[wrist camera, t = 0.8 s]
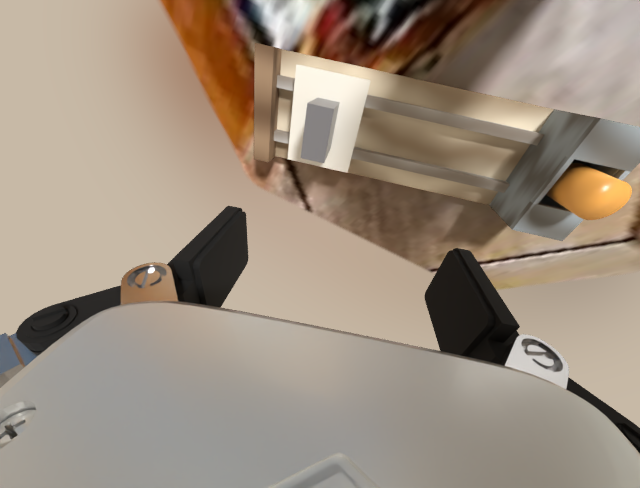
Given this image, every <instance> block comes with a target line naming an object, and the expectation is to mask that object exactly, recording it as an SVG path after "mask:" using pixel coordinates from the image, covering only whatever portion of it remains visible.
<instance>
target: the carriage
mask: <svg viewBox="0 0 640 488" xmlns="http://www.w3.org/2000/svg"><path fill="white" fill-rule="evenodd" d="M370 82H371V81H370V80H367V79H362V78H358V77H353V76H349V75H344V74H340V73H335V72H331V71H326V70H322V69H317V68H313V67H308V66H304V65H297V64H296V72H295V83H294V94H293V105H292V116H291V127H290V138H289V148H288V159H289V160H293V161H297V162H302V163H306V164H311V165H315V166H319V167H324V168H328V169H332V170H337V171H341V172H346V173H348V169H349V165H350V161H351V157H352V153H353V149H354V145H355V141H356V137H357V133H358V129H359V125H360V121H361V117H362V113H363V109H364V105H365V101H366V97H367V93H368V90H369V86H370Z"/></svg>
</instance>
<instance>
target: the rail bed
mask: <svg viewBox="0 0 640 488" xmlns="http://www.w3.org/2000/svg"><path fill="white" fill-rule="evenodd" d="M296 64H297V65H304V66H308V67H313V68H317V69H322V70H326V71H331V72H335V73H340V74H344V75H349V76H353V77H358V78H362V79H367V80H370V81H371V82H370V86H369V90H368V93H367V97H366V101H365V105H364V109H363V113H362V117H361V121H360V125H359V129H358V133H357V137H356V141H355V145H354V149H353V153H352V157H351V161H350V165H349V169H348V173H351V174H356V175H360V176H364V177H369V178H373V179H377V180H382V181H386V182H390V183H395V184H399V185H404V186H408V187H412V188H417V189H421V190H425V191H430V192H434V193H439V194H443V195H447V196H452V197H456V198H460V199H465V200H469V201H474V202H478V203H482V204H487V205H490V206H491V207H492V209H493V210H494V211H495V212H496V213H497V214H498V215H499V216H500V217H501V218H502V219H503V220H504V221H505V222H506V223H507V225H508V226H509V227H510V228H511V229H512V230H516V231H521V232H525V233H529V234H534V235H538V236H542V237H547V238H551V239H555V240H560V241H563V240H564V239H565V238H566V237H567V236H568V235H569V234H570V233H571V232H572V231H573V230H574V229H575V228H576V227H577V226H578V225H579V224H580V223H581V222H582V221H583V220H584V219H582V218H580V217H578V216H577V215H575V214H574V213H572V212H571V211H569V210H568V209H566V208H565V207H563V206H562V205H560V204H559V203H557V202H556V201H554V200H553V199H551V198H550V197H548V196H547V195H546V194H547V192H548V191H549V190H550V189H551V187H552V186H553V185H554V184H555V183H556V181H557V180H558V179H559V178H560V176H561V175H562V174H563V173H564V171H565V170H566V169H567V168H568V167H569V165H570V164H572V163H580V164H584V165H586V166H588V167H591V168H593V169H595V170H598V171H600V172H603V173H605V174H607V175H610V176H612V177H614V178H617V179H619V180H623V179H624V178H625V177H626V176H627V175H628V174H629V173H630V172H631V171H632V170H633V169H634V168H635V167H636V166H637V165H638V164H639V163H640V127H637V126H632V125H628V124H623V123H619V122H614V121H610V120H605V119H601V118H596V117H590V116H585V115H580V114H575V113H570V112H565V111H560V110H555V109H550V108H545V107H541V106H536V105H532V104H527V103H523V102H518V101H514V100H509V99H505V98H500V97H496V96H491V95H486V94H482V93H477V92H473V91H468V90H464V89H459V88H455V87H450V86H446V85H441V84H437V83H432V82H428V81H423V80H418V79H414V78H409V77H405V76H400V75H396V74H391V73H387V72H382V71H378V70H373V69H369V68H364V67H359V66H355V65H350V64H346V63H341V62H337V61H332V60H328V59H323V58H319V57H314V56H310V55H305V54H301V53H296V52H291V51H287V50H282V49H279V48H275V47H271V46H266V45H262V44H257V43H255V84H254V159H255V160H260V161H264V162H268V163H269V162H270V161H271V160H272V159H273V158H274V157H275V156H277V157H281V158H286V159H288V148H289V138H290V127H291V116H292V105H293V94H294V83H295V72H296Z"/></svg>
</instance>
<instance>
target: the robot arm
mask: <svg viewBox="0 0 640 488" xmlns="http://www.w3.org/2000/svg"><path fill="white" fill-rule="evenodd" d="M247 262H248V245H247V226H246V213H245V212H242V209H241V208H237V207H232V206H227V207H226V208H225V209H224V210H223V211H222V212H221V213H220V214H219V215H218V216H217V217H216V218H215V219H214V220H213V221H212V222H211V223H210V224H208V225H207V226H206V227H205V228H204V229H203V230H202V231H201V232H200V233H199V234H198V235H197V236H196V237H195V238H194V239H193V240H192V241H191V242H190V243H189V244H188V245H187V246H186V247H185V248H183V249H182V250H181V251H180V252H179V253H178V254H177V255H176V256H175V257H174V258H173V259H172V260H171V261H170V262H169V263H168V264H167V265H166V264H163V263H155V262H154V263H146V264H143V265H140V266H137V267H135V268H133V269H131V270H130V271H128V272H127V273H126V274H125V275H124V276H123V278H122V281H121V286H117V287H114V288H110V289H107V290H104V291H100V292H96V293H93V294H90V295H86V296H83V297H79V298H76V299H73V300H69V301H66V302H62V303H59V304H55V305H52V306H49V307H47V308H44V309H42V310H40V311H38V312H36V313H34V314H33V315H31V316H30V317H29V318H27V319H26V320H25V321H24V322H23V323H22V324H21V325H20V326H19V328H18V330H17V332H16V333H15V334H13V335H11V336H8V335H7V334H6V333H4V334H2V335H0V488H640V428H639V427H638V426H637V425H635V424H634V423H632V422H631V421H630V420H628V419H627V418H625V417H624V416H622V415H621V414H620V413H618V412H617V411H616V410H614V409H613V408H611V407H610V406H608V405H607V404H606V403H604V402H603V401H601V400H600V399H598V398H597V397H596V396H594V395H593V394H591V393H590V392H589V391H587V390H586V389H584V388H583V387H581V386H580V385H579V384H577V383H576V382H574V381H573V380H571V379H570V378H569V377H568V376H569V367H568V365H567V363H566V361H565V359H564V358H563V357H562V356H561V354H560V353H559V352H558V351H557V350H555V349H554V348H553V347H552V346H551V345H549V344H548V343H546V342H545V341H543V340H541V339H539V338H537V337H534V336H531V335H526V334H523V335H519V334H518V332H517V331H516V330H517V329H518V328H519V327H520V326H519V325H518V323H517V321H516V320H515V319H514V317H513V315H512V314H511V312H510V311H509V309H508V308H507V306H506V305H505V303H504V302H503V300H502V299H501V297H500V296H499V294H498V292H497V291H496V289H495V288H494V286H493V285H492V283H491V282H490V280H489V279H488V277H487V276H486V274H485V273H484V271H483V269H482V268H481V266H480V265H479V263H478V262H477V260H476V259H475V257H474V256H473V254H472V253H471V252H470V251H469V250H464V249H458V248H455V249H453V250H452V251H449V252H448V253H447V255H446V257H445V258H444V260H443V262H442V264H441V266H440V267H439V269H438V271H437V273H436V274H435V276H434V278H433V280H432V282H431V284H430V285H429V287H428V289H427V290H426V293H425V301H426V305H427V308H428V311H429V314H430V318H431V321H432V324H433V327H434V331H435V334H436V338H437V341H438V344H439V347H440V350H441V351H437V350H432V349H427V348H423V347H418V346H413V345H408V344H403V343H398V342H393V341H389V340H383V339H379V338H373V337H369V336H363V335H359V334H353V333H349V332H344V331H339V330H334V329H329V328H323V327H319V326H314V325H308V324H304V323H299V322H293V321H288V320H283V319H278V318H273V317H267V316H262V315H257V314H252V313H247V312H242V311H236V310H230V309H225V308H220V307H221V306H222V304H223V302H224V301H225V299H226V297H227V296H228V294H229V293H230V291H231V289H232V288H233V286H234V284H235V282H236V281H237V279H238V278H239V276H240V274H241V273H242V271H243V270H244V268H245V266H246V264H247Z"/></svg>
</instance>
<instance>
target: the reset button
mask: <svg viewBox="0 0 640 488" xmlns="http://www.w3.org/2000/svg"><path fill="white" fill-rule="evenodd" d="M631 193H632V190H631V186H630V185H629V184H628V183H626V182H624V181H622V180H619V179H617V178H614V177H612V176H610V175H607V174H605V173H603V172H600V171H598V170H595V169H593V168H591V167H588V166H586V165H584V164H580V163H572V164H570V165H569V167H568V168H567V169H566V170H565V171H564V173H563V174H562V175H561V176H560V178H559V179H558V180H557V181H556V183H555V184H554V185H553V186H552V187H551V189H550V190H549V191H548V192H547V194H546V195H547V196H548V197H550V198H551V199H553V200H554V201H556V202H557V203H559V204H560V205H562V206H563V207H565V208H566V209H568V210H569V211H571V212H572V213H574V214H575V215H577V216H578V217H580V218H582V219H585V220H595V219H600V218H604V217H606V216H609V215H611V214H613V213H615V212H616V211H618V210H619V209H621V208H622V207H623V206H624V205H625V204H626V203H627V202H628V200H629V198H630V196H631Z"/></svg>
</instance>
